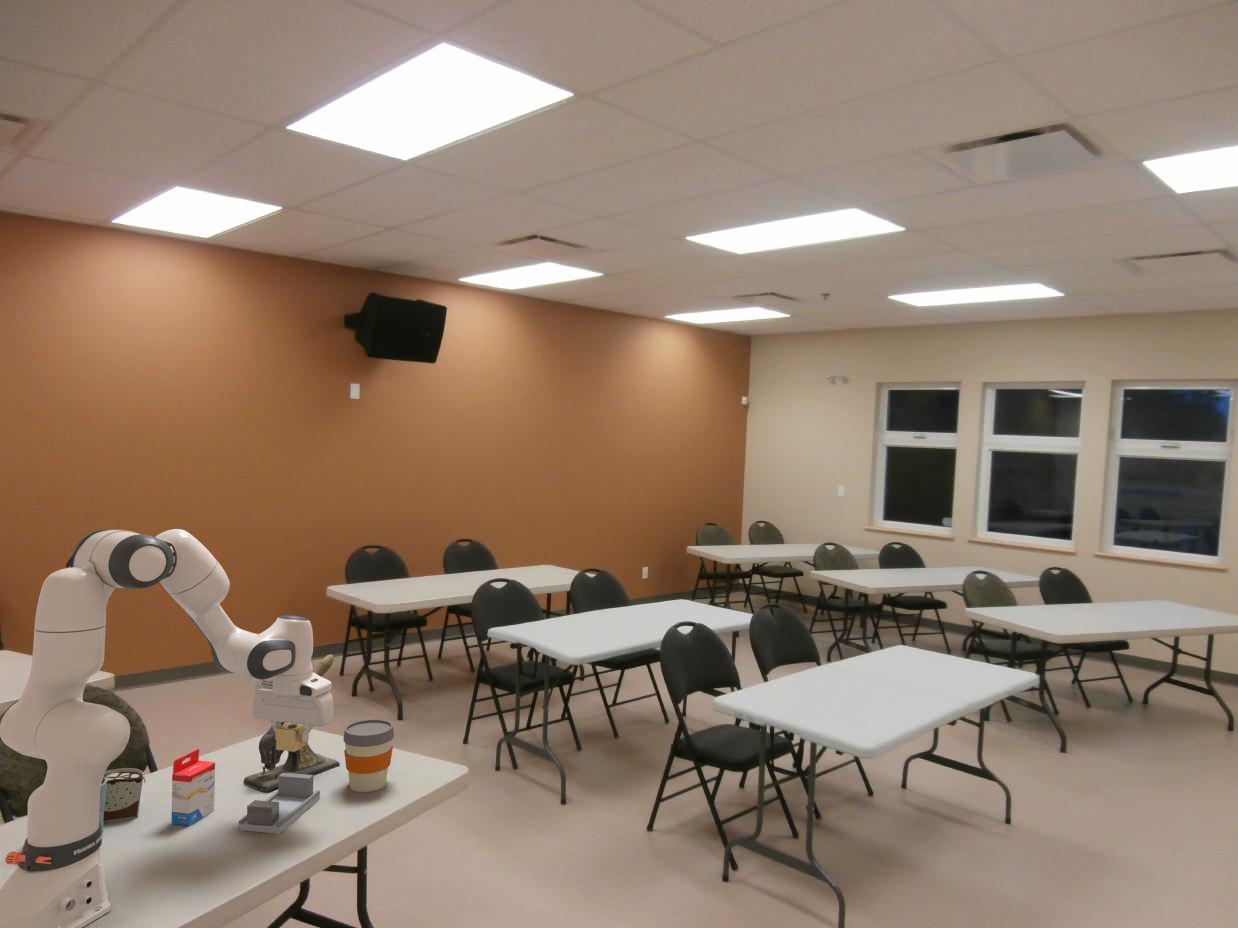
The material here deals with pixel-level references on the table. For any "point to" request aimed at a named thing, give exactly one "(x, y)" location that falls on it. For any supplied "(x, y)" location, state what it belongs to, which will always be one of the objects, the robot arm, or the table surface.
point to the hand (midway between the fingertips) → (292, 739)
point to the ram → (263, 812)
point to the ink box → (192, 789)
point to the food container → (122, 794)
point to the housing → (289, 737)
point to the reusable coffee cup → (368, 753)
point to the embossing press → (289, 753)
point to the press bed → (287, 802)
